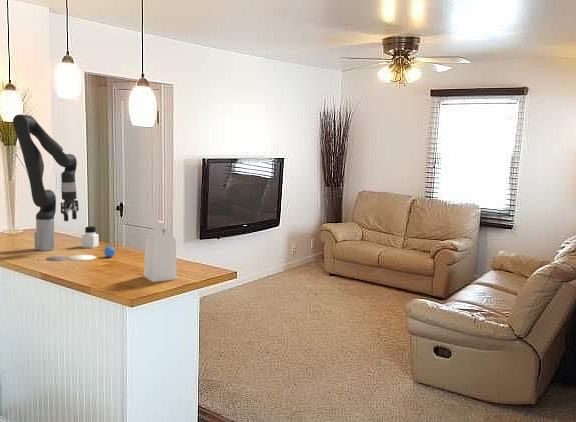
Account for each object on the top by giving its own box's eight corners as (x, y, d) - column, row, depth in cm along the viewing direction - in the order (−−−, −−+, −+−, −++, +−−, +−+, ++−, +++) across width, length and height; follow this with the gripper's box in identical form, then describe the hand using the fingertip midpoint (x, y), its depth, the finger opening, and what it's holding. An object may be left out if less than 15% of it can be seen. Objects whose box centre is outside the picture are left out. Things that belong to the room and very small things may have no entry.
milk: (177, 279, 252) (177, 222, 250) (152, 281, 246) (152, 223, 243) (167, 273, 262) (168, 219, 259) (143, 276, 256) (144, 220, 253)
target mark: (61, 259, 285) (61, 259, 285) (76, 254, 299) (76, 254, 299) (87, 261, 283) (87, 261, 283) (100, 256, 296) (100, 255, 296)
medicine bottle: (98, 246, 325) (98, 225, 324) (93, 248, 318) (93, 227, 317) (87, 245, 326) (87, 225, 325) (81, 247, 319) (81, 226, 318)
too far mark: (42, 259, 282) (42, 259, 282) (53, 256, 292) (53, 255, 292) (60, 261, 281) (60, 260, 281) (71, 257, 291) (71, 257, 291)
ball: (102, 257, 293) (102, 247, 293) (107, 255, 299) (107, 245, 298) (112, 258, 292) (112, 247, 292) (117, 256, 298) (117, 246, 297)
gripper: (69, 189, 311) (70, 218, 312) (55, 191, 297) (56, 221, 298) (81, 189, 310) (83, 218, 311) (68, 191, 296) (69, 221, 297)
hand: (70, 220), depth 305 cm, fingers open, 8 cm apart
